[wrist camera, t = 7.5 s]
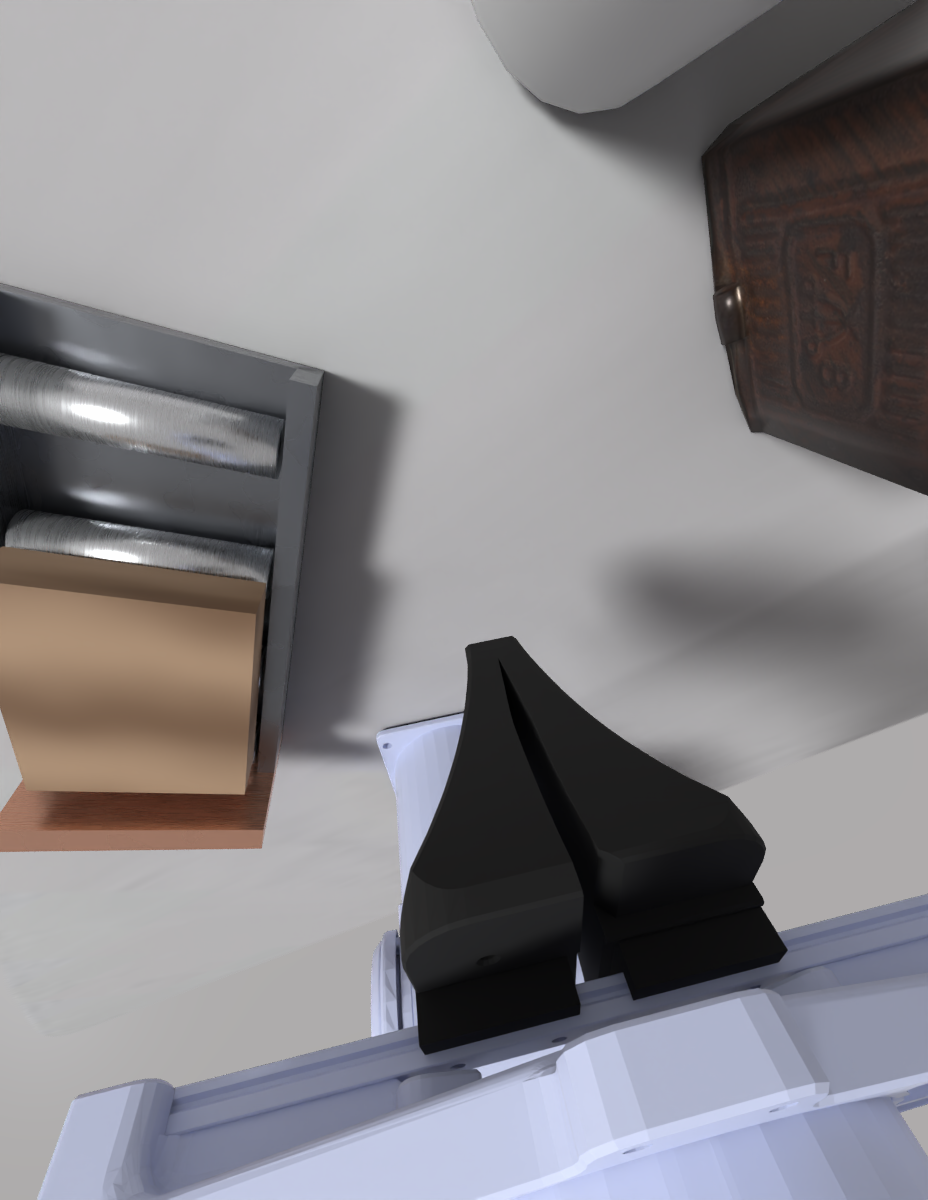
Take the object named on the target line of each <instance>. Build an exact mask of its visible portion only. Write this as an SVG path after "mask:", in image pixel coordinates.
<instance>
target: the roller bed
mask: <svg viewBox="0 0 928 1200" xmlns="http://www.w3.org/2000/svg"><path fill="white" fill-rule="evenodd" d="M323 377H324V370H320V369H317V368H313V367H309V366H306V365H302V364H298V363H294V362H291V361H287V360H283V359H280V358H276V357H272V356H269V355H265V354H261V353H257V352H254V351H250V350H246V349H243V348H239V347H235V346H231V345H228V344H224V343H220V342H217V341H213V340H209V339H206V338H202V337H198V336H194V335H191V334H187V333H183V332H180V331H176V330H172V329H168V328H165V327H161V326H157V325H154V324H150V323H146V322H143V321H139V320H135V319H131V318H128V317H124V316H120V315H117V314H113V313H109V312H105V311H102V310H98V309H94V308H91V307H87V306H83V305H79V304H76V303H72V302H68V301H65V300H61V299H57V298H54V297H50V296H46V295H42V294H39V293H35V292H31V291H28V290H24V289H20V288H16V287H13V286H9V285H5V284H2V283H0V548H1V547H2V546H4V547H12V548H19V549H26V550H33V551H40V552H47V553H55V554H62V555H69V556H76V557H83V558H91V559H98V560H105V561H112V562H119V563H127V564H134V565H141V566H148V567H155V568H162V569H170V570H177V571H184V572H191V573H198V574H206V575H213V576H220V577H227V578H234V579H241V580H249V581H256V582H263V583H266V595H265V609H264V622H263V636H262V650H261V663H260V677H259V691H258V704H257V718H256V731H255V745H254V758H253V762H252V766H251V770H250V775H249V779H248V783H247V787H246V791H245V794H189V793H133V792H76V791H27V790H26V787H25V784H24V781H23V780H22V782H21V783H20V785H19V786H18V788H17V789H16V791H15V792H14V794H13V795H12V796H11V798H10V799H9V801H8V802H7V804H6V805H5V807H4V808H3V810H2V811H1V812H0V852H23V851H100V850H178V849H255V848H262V844H263V838H264V833H265V827H266V822H267V817H268V811H269V806H270V801H271V795H272V790H273V784H274V779H275V774H276V768H277V763H278V757H279V752H280V747H281V739H282V731H283V722H284V713H285V705H286V696H287V688H288V679H289V670H290V662H291V653H292V644H293V636H294V627H295V619H296V610H297V601H298V593H299V584H300V575H301V567H302V558H303V550H304V541H305V532H306V524H307V515H308V506H309V498H310V489H311V481H312V472H313V463H314V455H315V446H316V438H317V429H318V420H319V412H320V403H321V394H322V386H323Z"/></svg>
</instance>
